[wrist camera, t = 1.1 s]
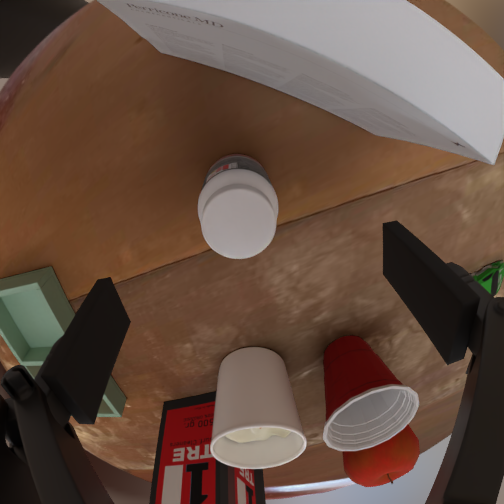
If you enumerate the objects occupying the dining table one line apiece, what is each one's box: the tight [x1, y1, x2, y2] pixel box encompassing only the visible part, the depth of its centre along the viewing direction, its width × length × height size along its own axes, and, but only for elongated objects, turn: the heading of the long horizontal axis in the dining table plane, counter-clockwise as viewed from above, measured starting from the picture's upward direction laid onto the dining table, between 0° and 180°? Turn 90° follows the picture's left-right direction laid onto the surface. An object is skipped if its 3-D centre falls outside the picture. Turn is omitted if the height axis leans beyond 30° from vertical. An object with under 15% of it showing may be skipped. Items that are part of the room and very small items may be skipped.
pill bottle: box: [198, 154, 278, 259], centre depth 24 cm, size 6×6×10 cm
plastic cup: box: [323, 335, 419, 451], centre depth 33 cm, size 11×11×12 cm
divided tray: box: [0, 266, 126, 417], centre depth 35 cm, size 22×12×4 cm, turn 11°
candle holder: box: [210, 347, 307, 469], centre depth 34 cm, size 10×10×12 cm
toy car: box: [469, 260, 504, 296], centre depth 35 cm, size 10×5×2 cm, turn 111°
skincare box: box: [97, 0, 504, 165], centre depth 17 cm, size 21×5×16 cm, turn 69°
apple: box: [343, 424, 420, 487], centre depth 39 cm, size 12×12×14 cm
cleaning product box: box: [149, 392, 266, 504], centre depth 36 cm, size 16×9×20 cm, turn 20°
